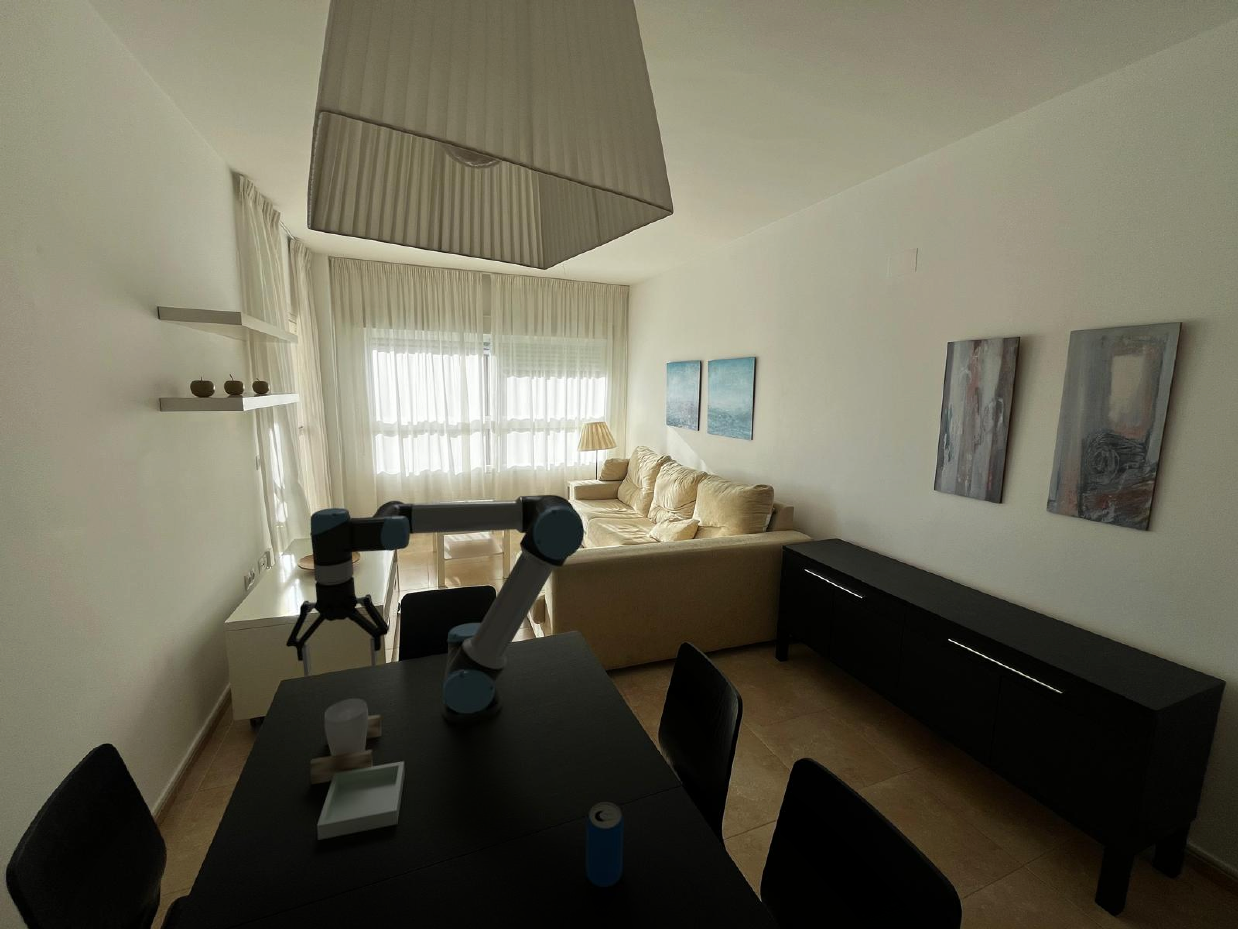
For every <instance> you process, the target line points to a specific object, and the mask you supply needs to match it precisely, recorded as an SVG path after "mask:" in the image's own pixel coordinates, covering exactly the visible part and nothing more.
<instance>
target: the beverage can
mask: <svg viewBox="0 0 1238 929" xmlns="http://www.w3.org/2000/svg"><path fill="white" fill-rule="evenodd" d="M623 844H624V816H623V815H622V812H621V809H620V808H619V806H617V805H616V804H615V803H612V802H608V801H602V802H599V803H596V804H595V805H593V806H592V807H591V809H590V811H589V814H588V816H587V819H586V856H585V857H586V858H585V859H586V861H585V862H586V863H585V864H586V865H585V866H586V867H585V868H586V869H585V870H586V871H585V872H586V876H587V878H588V879H589V881H590V882H591V883H592V884H594V885H595V886H598V887H605V888H606V887H610V886H613V885H615V883H617V882H618V881H619V880H620V878H621V877H622V872H623V854H624V853H623V852H624V851H623V850H624V847H623Z"/></svg>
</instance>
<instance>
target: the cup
mask: <svg viewBox="0 0 1238 929" xmlns="http://www.w3.org/2000/svg"><path fill="white" fill-rule="evenodd" d="M368 716H369V711H368V703H367V702H366V700H364V699H361V698H348V699H344V700H343V699H342V700H340V701H337V702H335V703H334V704H332V705H331V706H329V707H328V708H327V709H326V710H325V712H324V732H325V737H326V736H327V740H328V748H329V751H330V756H335V755H341V754H347V753H353V752H359V751H365V750H366V744H367V739H366V736H367V727H368Z"/></svg>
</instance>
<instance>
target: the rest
mask: <svg viewBox="0 0 1238 929" xmlns="http://www.w3.org/2000/svg"><path fill="white" fill-rule="evenodd" d="M381 716H382V715H381V714H380V713H379V714H374V715H368V727H367V736H366V740H367V739H371V738H379V737H382V717H381ZM325 742H326V745H328V746H329V744H328V740H327V736H326V735H325ZM310 760H311V761H310V763H309V768H310V780H311V782H310V783H311V785H316V784H321V783H326V782H332V779H333V776H334V773H338V772H344V771H350V770H356V769H361V768H367V767H373V766H374V764H373V762H374V761H373V749H367V750H366V749H365V751H359V752H353V753H347V754H341V755H335V756H331V755H329V756H325V757H316V758H311V759H310Z"/></svg>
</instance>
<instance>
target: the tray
mask: <svg viewBox="0 0 1238 929" xmlns="http://www.w3.org/2000/svg"><path fill="white" fill-rule="evenodd" d="M405 775H406V774H405V761H398V762H391V763H386V764H385V763H384V764H380V765H373V767H367V768H361V769H356V770H350V771H344V772H338V773H334V776H333V779H332V781H330V782H331V783H330V785H329V789H328V791H327V795H326V797H325V802H324V804H323V807H322V809H321V813H320V816H319V819H318V822H317V825H316V828H317V830H316V831H317V840H318V841H320V840H324V839H330V838H335V837H340V836H346V835H348V834H355V833H360V832H363V831H369V830H374V829H375V830H376V829H379V828H380V829H381V828H384V827H389V826H394V825H398V821H399V820H398V819H399V814H400V809H401V800H402V794H403V787H404V780H405Z"/></svg>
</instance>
